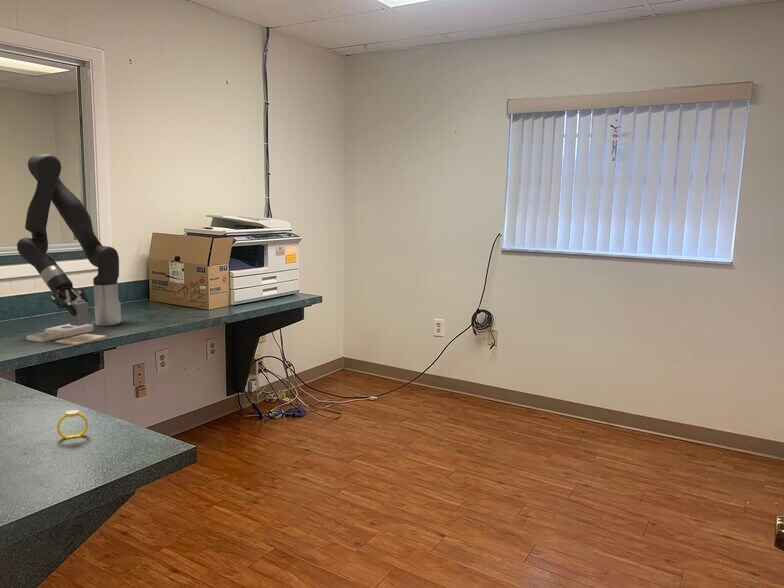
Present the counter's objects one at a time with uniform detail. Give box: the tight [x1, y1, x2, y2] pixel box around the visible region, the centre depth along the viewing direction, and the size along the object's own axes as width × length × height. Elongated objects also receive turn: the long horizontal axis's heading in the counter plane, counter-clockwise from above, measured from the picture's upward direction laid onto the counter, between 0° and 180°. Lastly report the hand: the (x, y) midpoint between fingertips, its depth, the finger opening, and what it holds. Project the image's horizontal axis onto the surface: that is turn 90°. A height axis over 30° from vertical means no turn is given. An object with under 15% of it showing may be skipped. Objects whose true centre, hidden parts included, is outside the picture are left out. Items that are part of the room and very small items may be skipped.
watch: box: [56, 409, 89, 440], centre depth 133 cm, size 6×3×6 cm, turn 119°
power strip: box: [26, 323, 94, 343], centre depth 233 cm, size 22×10×3 cm, turn 159°
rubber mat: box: [55, 333, 107, 346], centre depth 226 cm, size 14×10×1 cm
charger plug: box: [68, 301, 90, 326], centre depth 224 cm, size 5×4×8 cm
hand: (81, 313), depth 224 cm, fingers closed on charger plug, 5 cm apart
